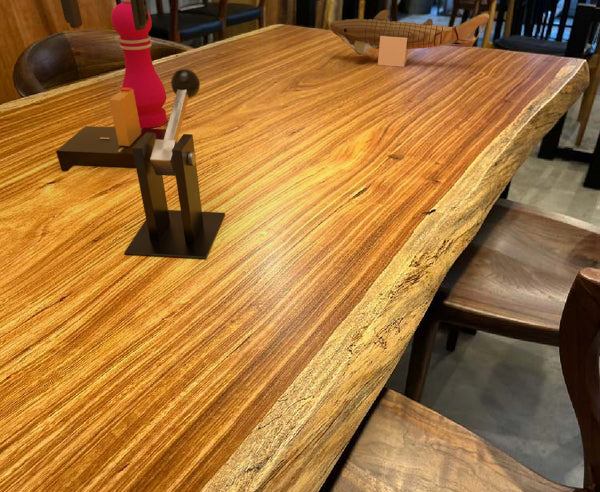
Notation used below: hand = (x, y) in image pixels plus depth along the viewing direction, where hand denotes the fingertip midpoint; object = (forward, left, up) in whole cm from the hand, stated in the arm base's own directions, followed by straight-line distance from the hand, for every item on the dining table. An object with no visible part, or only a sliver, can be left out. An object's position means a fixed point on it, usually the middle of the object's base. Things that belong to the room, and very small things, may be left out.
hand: (108, 28), depth 69 cm
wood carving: (+43, +61, -18) cm, 77 cm away
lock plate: (-2, 0, -18) cm, 18 cm away
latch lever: (+13, -16, -7) cm, 22 cm away
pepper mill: (-3, +16, -18) cm, 24 cm away
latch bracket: (+13, -22, -18) cm, 31 cm away
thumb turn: (0, 0, -15) cm, 15 cm away
